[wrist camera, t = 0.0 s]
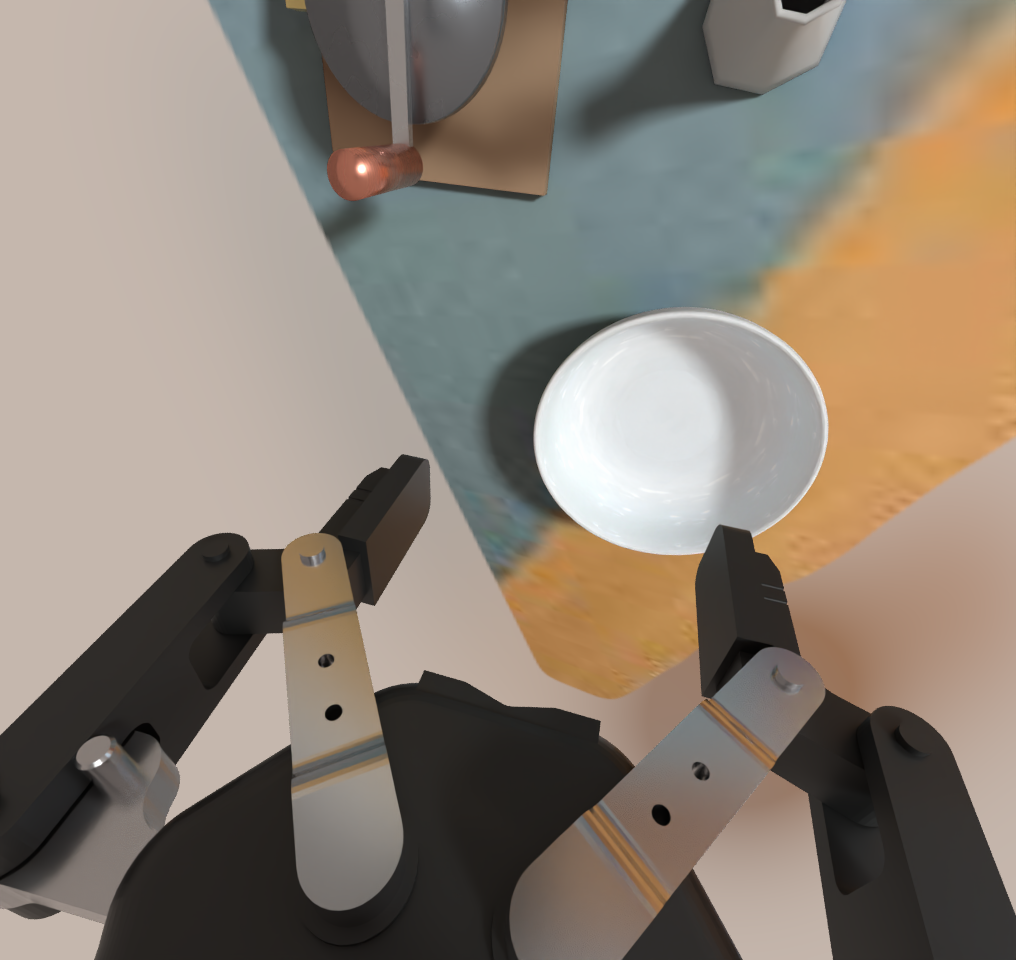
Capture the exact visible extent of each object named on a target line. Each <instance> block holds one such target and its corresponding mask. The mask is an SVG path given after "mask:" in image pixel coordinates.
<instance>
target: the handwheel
mask: <svg viewBox="0 0 1016 960" xmlns="http://www.w3.org/2000/svg"><path fill="white" fill-rule="evenodd" d="M285 1H286V8H289V9H293V10H296V11H303V12H307V14H308V18H309V22H310V25H311V28H312V31H313V34H314V36H315V39H316V42H317V44H318V46H319V49H320V51H321V53H322V55H323V57H324V59H325V61H326V63H327V64H328V66H329V68H330V70H331V71H332V73H333V74H334V76H335V77H336V79H337V80H338V81H339V83H340V84H341V85H342V86H343V88H344V89H345V90H346V91H347V92H348V93H349V95H350V96H352V97H353V98H354V99H355V100H356V101H357V102H358V103H359V104H360V105H362V106H363V107H364V108H366V109H367V110H368V111H370V112H372V113H373V114H375V115H377V116H379V117H381V118H383V119H386V120H389V121H391V122H392V137H393V144H386V145H376V146H365V147H355V148H345V149H338V150H336V151H335V152H333V153H332V154H331V156H330V158H329V160H328V164H327V174H328V178H329V181H330V184H331V186H332V188H333V189H334V191H335V192H336V193H337V194H338V195H339V196H340V197H342V198H343V199H346V200H349V201H356V200H360V199H363V198H367V197H371V196H375V195H378V194H382V193H386V192H389V191H393V190H397V189H401V188H404V187H408V186H412V185H414V184H416V183H417V182H418V181H419V180H420V178H421V176H422V173H423V162H422V158H421V156H420V154H419V152H418V151H417V150H416V148H414V147H413V129H412V124H429V123H435V122H438V121H441V120H444V119H446V118H448V117H450V116H452V115H454V114H456V113H457V112H458V111H460V110H461V109H462V108H464V107H465V106H466V105H467V104H468V103H469V102H470V101H471V100H472V99H473V98H474V97H475V96H476V95H477V93H478V92H479V91H480V89H481V88H482V87H483V85H484V84H485V82H486V80H487V78H488V77H489V75H490V73H491V71H492V69H493V67H494V64H495V62H496V59H497V57H498V54H499V51H500V48H501V44H502V41H503V36H504V31H505V26H506V21H507V11H508V0H285Z"/></svg>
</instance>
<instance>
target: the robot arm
mask: <svg viewBox="0 0 1016 960" xmlns="http://www.w3.org/2000/svg"><path fill="white" fill-rule="evenodd" d="M429 509H430V465H429V461H428V460H427V459H423V458H418V457H413V456H409V455H404V454H403V455H401V456H400V457H399V458H398V459H397V460H396V462H395V463H394V464H393V465H392V467H391V468H390V469H387V468H382V467H381V468H379V469H378V470H376V471H374V472H373V473H371V474H369V475H367V476H366V477H365V478H364V479H363V480H362V482H361V483H360V484H359V485H358V486H357V488H356V490H354V491H353V492H352V494H351V495H350V496H349V499H347V500H346V501H345V502H344V503H343V504H342V506H341V507H340V508H339V509H338V510H337V511H336V513H335V514H334V515H333V516H332V517H331V519H330V520H329V521H328V522H327V523H326V525H325V526H324V527H323V528H322V529H321V531H320V532H319V533H312V534H308V535H304V536H301V537H299V538H297V539H295V540H294V541H292V542H291V543H290V544H288V545H287V547H286V548H285V549H259V550H258V549H257V550H250V547H249V544H248V542H247V540H246V539H245V538H244V537H243V536H240V535H238V534H234V533H219V534H215V535H211V536H208V537H206V538H203V539H201V540H200V541H198V542H196V543H195V544H193V545H192V546H191V547H190V548H189V549H188V550H187V551H186V552H185V553H184V554H183V555H182V556H181V557H180V558H179V559H178V560H177V561H176V562H175V563H174V564H173V565H172V566H171V567H170V568H169V569H168V570H167V571H166V572H165V573H164V574H163V575H162V576H161V577H160V578H159V579H158V580H157V581H156V582H155V583H154V584H153V585H152V586H151V587H150V588H149V589H148V590H147V591H146V592H145V593H144V594H143V595H142V596H141V597H140V598H139V599H138V600H136V602H135V603H134V604H132V606H130V607H129V608H128V609H127V610H126V612H124V613H123V614H122V615H121V617H119V618H118V619H117V620H116V621H115V622H114V623H113V624H112V625H111V626H110V627H109V628H108V629H107V630H106V631H105V632H104V633H103V634H102V635H101V636H100V637H99V638H98V639H97V640H96V641H95V642H94V643H93V644H92V645H91V646H90V647H89V648H88V649H87V650H86V651H85V652H84V653H83V654H82V655H81V656H80V657H79V658H78V659H77V660H76V661H75V662H74V663H73V664H72V665H71V666H70V667H69V668H68V669H67V670H66V671H65V672H64V673H63V674H62V675H61V676H60V677H59V678H58V679H57V680H56V681H55V682H54V683H53V684H52V685H51V686H50V687H49V688H48V689H47V690H46V691H45V692H44V693H43V694H42V695H41V696H40V697H39V698H38V699H37V700H36V701H35V702H34V703H33V704H32V705H31V706H30V707H28V709H27V710H25V711H24V713H23V714H21V715H20V716H19V717H18V718H17V719H16V720H15V721H14V723H12V724H11V725H10V726H9V727H8V728H7V729H6V730H5V731H4V732H3V733H2V734H1V735H0V908H2V909H8V910H10V911H12V912H14V913H16V914H18V915H20V916H22V917H24V918H28V919H42V918H46V917H49V916H52V915H54V914H56V913H59V912H61V911H63V912H67V913H70V914H73V915H76V916H80V917H83V918H86V919H89V920H93V921H96V922H99V923H102V924H105V925H104V929H103V932H102V936H101V940H100V944H99V948H98V950H97V953H96V956H95V959H94V960H742V958H741V956H740V954H739V952H738V951H737V949H736V947H735V945H734V943H733V941H732V939H731V938H730V936H729V934H728V932H727V930H726V928H725V927H724V925H723V923H722V921H721V919H720V918H719V916H718V914H717V912H716V910H715V908H714V907H713V905H712V903H711V901H710V899H709V897H708V896H707V894H706V892H705V890H704V888H703V886H702V885H701V883H700V881H699V879H698V878H697V875H696V874H695V872H694V870H693V867H694V866H695V865H696V863H697V862H698V861H699V860H700V858H701V857H702V856H703V855H704V853H705V852H706V851H707V849H708V848H709V847H710V846H711V844H712V843H713V842H714V841H715V839H716V838H717V837H718V836H719V834H720V833H721V832H722V830H723V829H724V828H725V827H726V825H727V824H728V823H729V822H730V820H731V819H732V818H733V817H734V815H735V814H736V813H737V811H738V810H739V809H740V808H741V806H742V805H743V804H744V803H745V801H746V800H747V799H748V798H749V796H750V795H751V794H752V793H753V791H754V790H755V789H756V787H757V786H758V785H759V784H760V782H761V781H762V780H763V779H764V777H765V776H766V775H767V774H768V772H769V771H770V770H771V771H772V772H774V773H776V774H777V775H779V776H781V777H782V778H784V779H786V780H787V781H789V782H790V783H792V784H794V785H795V786H797V787H798V788H800V789H802V790H803V791H805V792H807V793H808V796H809V802H810V809H811V816H812V823H813V829H814V835H815V842H816V849H817V855H818V862H819V869H820V876H821V882H822V888H823V895H824V902H825V909H826V915H827V922H828V929H829V935H830V942H831V948H832V955H833V960H1016V915H1015V912H1014V910H1013V907H1012V905H1011V902H1010V899H1009V897H1008V894H1007V892H1006V889H1005V887H1004V884H1003V881H1002V879H1001V876H1000V874H999V871H998V869H997V866H996V863H995V861H994V858H993V856H992V853H991V851H990V848H989V846H988V843H987V840H986V838H985V835H984V833H983V830H982V828H981V825H980V822H979V820H978V817H977V815H976V812H975V809H974V807H973V805H972V802H971V799H970V797H969V794H968V791H967V789H966V786H965V784H964V781H963V779H962V776H961V773H960V771H959V768H958V766H957V763H956V761H955V758H954V756H953V753H952V751H951V749H950V747H949V746H948V744H947V742H946V741H945V740H944V739H943V737H942V736H941V735H940V734H939V733H938V732H937V731H936V730H935V729H934V728H933V727H932V726H931V725H930V724H929V723H927V722H926V721H924V720H923V719H922V718H920V717H919V716H917V715H915V714H914V713H912V712H909V711H907V710H905V709H902V708H898V707H894V706H883V707H880V708H877V709H876V710H875V711H873V713H871V714H870V713H869V712H866V711H865V710H863V709H861V708H859V707H857V706H855V705H853V704H851V703H849V702H848V701H846V700H844V699H842V698H840V697H838V696H836V695H835V694H833V693H831V692H830V691H829V690H827V689H826V688H825V687H824V684H823V681H822V679H821V677H820V675H819V674H818V672H817V671H816V670H815V668H813V666H812V665H811V664H810V663H808V662H807V661H806V660H805V659H803V658H802V657H801V655H800V651H799V647H798V643H797V639H796V635H795V631H794V627H793V623H792V619H791V616H790V611H789V607H788V605H787V599H786V595H785V592H784V591H783V589H784V587H783V583H782V579H781V575H780V571H779V570H778V568H777V567H776V566H775V564H774V563H773V562H772V560H771V559H770V558H769V556H768V555H766V554H762V553H757V552H755V549H754V544H753V539H752V535H751V532H750V531H748V530H744V529H739V528H735V527H730V526H726V525H721V524H719V525H718V526H717V527H716V529H715V531H714V533H713V535H712V537H711V540H710V542H709V544H708V546H707V549H706V551H705V553H704V555H703V557H702V560H701V562H700V564H699V567H698V570H697V575H696V582H695V592H696V608H697V625H698V642H699V658H700V675H701V691H702V696H704V697H707V698H710V700H709V701H708V700H707V699H705V700H704V701H702V702H701V703H700V704H699V705H698V706H697V707H696V708H695V709H694V710H693V711H692V712H691V713H690V714H689V715H688V716H687V717H686V718H685V719H683V720H682V721H681V722H680V723H679V724H678V725H677V726H676V727H675V728H674V729H673V730H672V731H671V732H670V733H669V734H668V735H667V736H666V737H665V738H664V739H663V740H662V741H661V742H660V743H659V744H658V745H657V746H656V747H655V748H654V749H653V750H652V751H651V752H650V753H649V754H648V755H647V756H646V757H645V758H644V759H643V760H642V761H641V762H640V763H639V764H638V765H637V766H636V767H635V766H634V765H633V764H632V763H631V761H630V760H629V759H628V758H627V757H626V756H625V755H624V754H623V753H622V752H621V751H620V750H619V749H618V748H616V747H615V746H614V745H612V744H611V743H610V742H608V741H607V740H606V739H604V738H602V737H601V736H599V731H600V722H601V721H599V720H595V719H592V718H588V717H585V716H581V715H578V714H574V713H571V712H567V711H564V710H561V709H557V708H538V707H511V706H506V705H504V704H502V703H500V702H498V701H497V700H495V699H493V698H492V697H490V696H488V695H487V694H485V693H483V692H482V691H480V690H478V689H476V688H475V687H473V686H471V685H470V684H468V683H466V682H464V681H460V680H457V679H453V678H450V677H446V676H443V675H439V674H436V673H433V672H429V671H426V670H424V673H423V675H422V677H421V679H420V681H419V683H409V684H400V685H396V686H391V687H388V688H385V689H382V690H380V691H377V692H375V693H374V691H373V687H372V682H371V677H370V672H369V667H368V663H367V658H366V653H365V649H364V644H363V639H362V635H361V630H360V625H359V621H358V616H357V611H356V609H357V607H358V606H359V604H360V603H361V602H363V603H366V604H370V605H374V606H375V605H376V603H377V601H378V600H379V598H380V596H381V595H382V593H383V591H384V590H385V588H386V586H387V585H388V583H389V581H390V580H391V578H392V576H393V575H394V573H395V571H396V570H397V568H398V566H399V564H400V563H401V561H402V559H403V558H404V556H405V554H406V553H407V551H408V549H409V548H410V546H411V544H412V543H413V541H414V539H415V538H416V536H417V534H418V533H419V531H420V529H421V527H422V526H423V524H424V523H425V521H426V518H427V516H428V513H429ZM267 633H283V641H284V654H285V669H286V683H287V696H288V710H289V724H290V737H291V744H290V745H289V746H287V747H285V748H284V749H282V750H281V751H279V752H277V753H276V754H274V755H273V756H271V757H269V758H268V759H266V760H265V761H263V762H261V763H260V764H258V765H257V766H255V767H253V768H252V769H250V770H248V771H247V772H245V773H244V774H242V775H240V776H239V777H237V778H236V779H234V780H232V781H231V782H229V783H228V784H226V785H224V786H223V787H221V788H220V789H218V790H216V791H215V792H213V793H212V794H210V795H208V796H207V797H205V798H204V799H202V800H200V801H199V802H197V803H196V804H194V805H192V806H191V807H189V808H188V809H186V810H185V811H183V812H182V813H180V814H179V815H177V816H176V817H175V818H173V819H172V820H171V821H170V822H168V823H167V824H166V825H165V820H166V816H167V814H168V812H169V808H170V807H171V805H172V803H173V801H174V799H175V797H176V795H177V792H178V789H179V784H180V775H179V771H178V769H177V767H176V764H177V762H178V761H179V759H180V758H181V756H182V755H183V754H184V752H185V751H186V749H187V748H188V746H189V745H190V743H191V742H192V741H193V739H194V738H195V736H196V735H197V733H198V732H199V731H200V729H201V728H202V726H203V725H204V723H205V722H206V720H207V719H208V718H209V716H210V715H211V713H212V712H213V710H214V709H215V708H216V706H217V705H218V703H219V702H220V700H221V699H222V697H223V696H224V695H225V693H226V692H227V690H228V689H229V687H230V686H231V684H232V683H233V682H234V680H235V679H236V677H237V676H238V674H239V673H240V672H241V670H242V669H243V667H244V666H245V664H246V663H247V661H248V660H249V658H250V657H251V656H252V654H253V653H254V651H255V650H256V648H257V647H258V646H259V644H260V643H261V641H262V640H263V638H264V637H265V636H266V634H267ZM164 825H165V826H164Z"/></svg>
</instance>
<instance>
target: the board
mask: <svg viewBox="0 0 1016 960" xmlns="http://www.w3.org/2000/svg"><path fill="white" fill-rule="evenodd" d="M567 3H568V0H508V11H507V21H506V26H505V31H504V36H503V41H502V44H501V48H500V51H499V54H498V57H497V59H496V62H495V64H494V67H493V69H492V71H491V73H490V75H489V77H488V78H487V80H486V82H485V84H484V85H483V87H482V88H481V89H480V91H479V92H478V93H477V95H476V96H475V97H474V98H473V99H472V100H471V101H470V102H469V103H468V104H467V105H466V106H465V107H464V108H462V109H461V110H460V111H458V112H457V113H456V114H454V115H452V116H450V117H448V118H446V119H444V120H441V121H438V122H435V123H429V124H412V129H413V147H414V148H416V150H417V151H418V152H419V154H420V156H421V158H422V162H423V173H422V176H421V178H420V180H423V181H431V182H439V183H447V184H455V185H463V186H471V187H479V188H487V189H495V190H503V191H511V192H519V193H527V194H535V195H543V196H544V195H546V194H547V188H548V178H549V169H550V160H551V151H552V141H553V132H554V123H555V114H556V104H557V95H558V86H559V77H560V67H561V58H562V49H563V40H564V30H565V21H566V12H567ZM322 61H323V70H324V79H325V87H326V96H327V105H328V113H329V122H330V130H331V139H332V148H333V152H335V151H336V150H338V149H345V148H355V147H365V146H376V145H386V144H393V137H392V122H391V121H389V120H386V119H383V118H381V117H379V116H377V115H375V114H373V113H372V112H370V111H368V110H367V109H366V108H364V107H363V106H362V105H360V104H359V103H358V102H357V101H356V100H355V99H354V98H353V97H352V96H350V95H349V93H348V92H347V91H346V90H345V89H344V88H343V86H342V85H341V84H340V83H339V81H338V80H337V79H336V77H335V76H334V74H333V73H332V71H331V70H330V68H329V66H328V64H327V63H326V61H325V59H324V57H323V55H322Z"/></svg>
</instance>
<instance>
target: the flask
mask: <svg viewBox="0 0 1016 960" xmlns="http://www.w3.org/2000/svg"><path fill="white" fill-rule="evenodd" d="M846 1H847V0H711V1H710V4H709V7H708V10H707V14H706V17H705V20H704V23H703V26H702V28H703V33H704V37H705V42H706V46H707V51H708V56H709V60H710V65H711V70H712V74H713V79H714V83H715V84H717V85H721V86H726V87H730V88H735V89H739V90H744V91H748V92H753V93H757V94H762V95H763V94H765V93H767V92H769V91H770V90H772V89H774V88H776V87H778V86H780V85H782V84H784V83H786V82H788V81H790V80H792V79H793V78H795V77H797V76H799V75H801V74H803V73H805V72H807V71H809V70H811V69H813V68H814V67H816V66H818V64H819V62H820V60H821V58H822V55H823V53H824V51H825V48H826V46H827V44H828V42H829V39H830V37H831V35H832V32H833V30H834V28H835V26H836V23H837V21H838V19H839V17H840V14H841V12H842V10H843V7H844V5H845V3H846Z"/></svg>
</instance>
